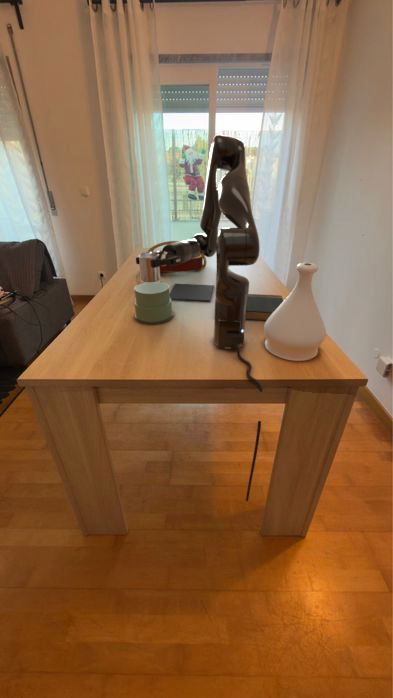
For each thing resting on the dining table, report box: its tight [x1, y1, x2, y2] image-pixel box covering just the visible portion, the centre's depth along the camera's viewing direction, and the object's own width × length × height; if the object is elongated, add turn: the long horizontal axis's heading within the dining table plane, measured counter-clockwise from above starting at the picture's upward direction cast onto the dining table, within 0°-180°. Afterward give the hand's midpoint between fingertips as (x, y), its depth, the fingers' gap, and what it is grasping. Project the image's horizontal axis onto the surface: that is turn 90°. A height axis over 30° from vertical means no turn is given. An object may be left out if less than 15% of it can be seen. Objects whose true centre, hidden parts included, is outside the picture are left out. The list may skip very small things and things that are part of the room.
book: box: [246, 293, 284, 322], centre depth 108 cm, size 17×4×25 cm
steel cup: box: [138, 252, 161, 283], centre depth 95 cm, size 7×7×8 cm
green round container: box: [133, 281, 174, 325], centre depth 101 cm, size 14×14×11 cm
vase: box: [263, 262, 327, 362], centre depth 80 cm, size 17×17×25 cm
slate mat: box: [169, 283, 215, 303], centre depth 124 cm, size 18×18×1 cm
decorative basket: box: [146, 240, 207, 273], centre depth 149 cm, size 34×29×15 cm
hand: (144, 262), depth 92 cm, fingers closed on steel cup, 6 cm apart
